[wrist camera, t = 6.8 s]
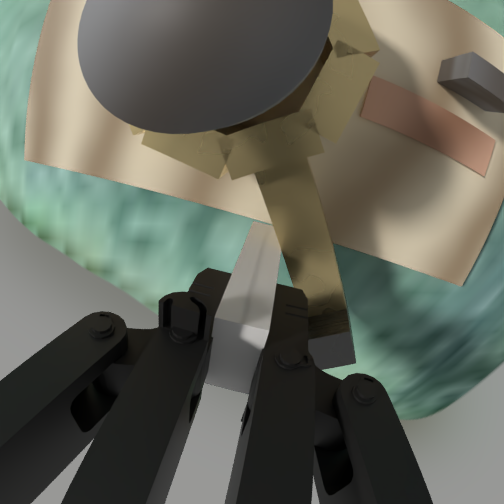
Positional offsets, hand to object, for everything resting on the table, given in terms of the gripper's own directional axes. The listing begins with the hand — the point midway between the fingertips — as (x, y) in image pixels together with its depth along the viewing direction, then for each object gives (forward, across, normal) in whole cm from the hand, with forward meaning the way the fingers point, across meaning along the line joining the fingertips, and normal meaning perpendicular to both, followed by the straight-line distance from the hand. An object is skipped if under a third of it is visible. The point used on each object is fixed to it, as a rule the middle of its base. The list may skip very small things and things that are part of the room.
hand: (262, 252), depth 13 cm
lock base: (+3, -2, +8) cm, 9 cm away
